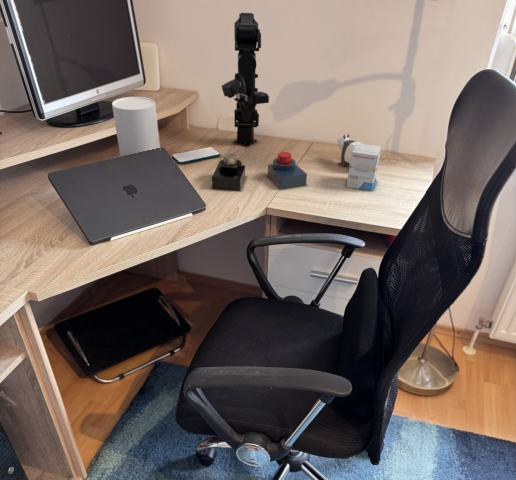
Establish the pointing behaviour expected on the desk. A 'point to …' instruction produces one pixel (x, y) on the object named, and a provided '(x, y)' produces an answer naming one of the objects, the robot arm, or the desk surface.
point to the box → (286, 175)
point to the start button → (284, 158)
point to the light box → (228, 176)
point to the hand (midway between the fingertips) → (246, 121)
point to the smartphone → (195, 155)
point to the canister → (136, 124)
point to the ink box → (363, 166)
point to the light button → (230, 159)
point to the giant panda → (346, 149)
